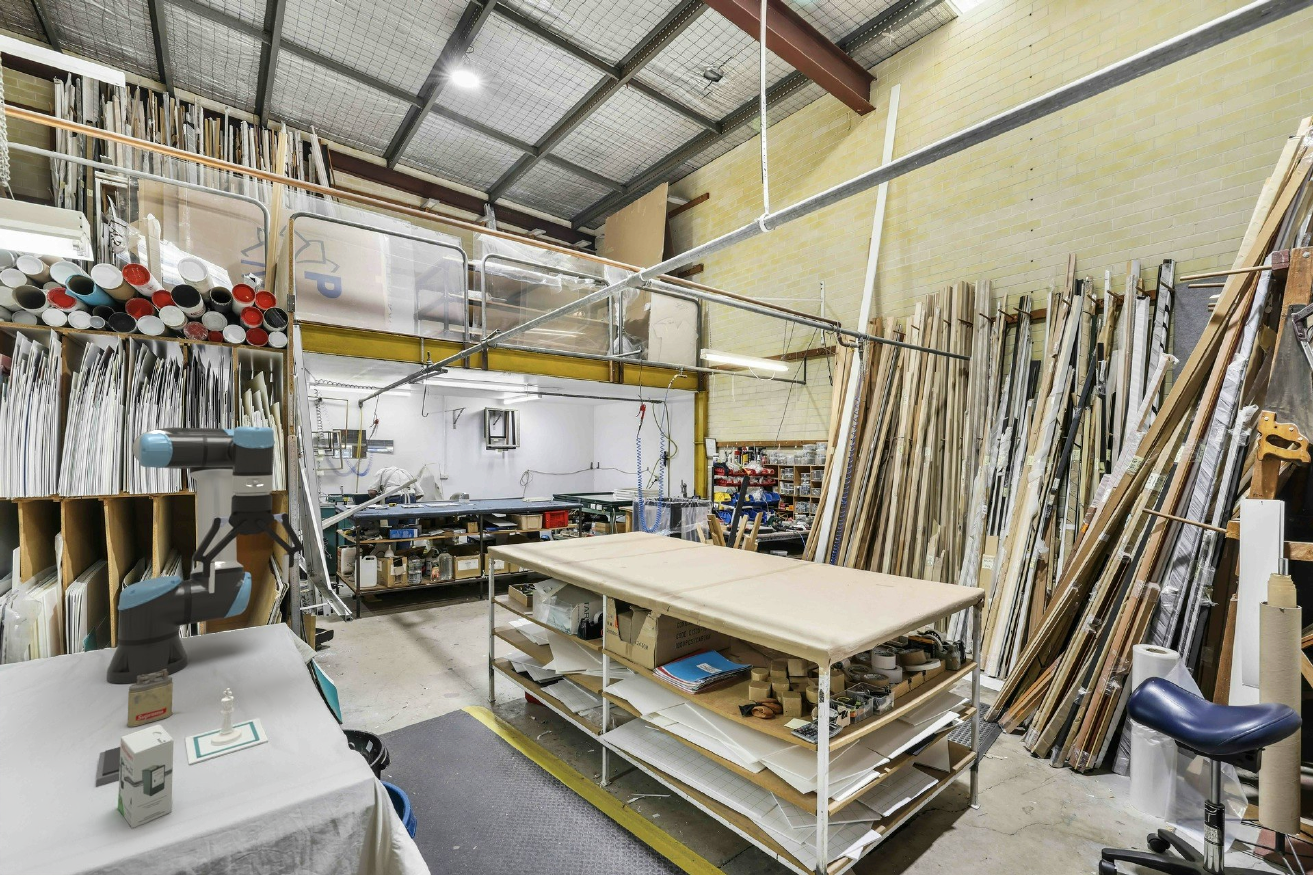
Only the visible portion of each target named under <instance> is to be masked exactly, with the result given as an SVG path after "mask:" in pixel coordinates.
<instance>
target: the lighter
mask: <svg viewBox="0 0 1313 875" xmlns="http://www.w3.org/2000/svg"><path fill="white" fill-rule="evenodd" d="M157 673H158V674H157ZM160 676H162V677H160ZM157 677H159V678H157ZM143 680H147V681H143ZM173 684H174V682H173V677H172V676H169V675H168V672H167V669H163V670H162V671H159V672H155V673H151V674H147V675H140V676H137V682H135V683H132V685H130V686H129V687H128V698H127V700H128V702H127V723H126V726H127V727H129V728H130V727H139V726H142V725H145V724H149V723H151V722H156V721H159V720H162V719H163V720H164V719H166V718H168V717H171V715H173V691H174V690H173V686H174V685H173Z"/></svg>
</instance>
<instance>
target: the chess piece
mask: <svg viewBox="0 0 1313 875" xmlns="http://www.w3.org/2000/svg"><path fill="white" fill-rule="evenodd" d="M223 695H225V697H223V698H222V699H221V700H220V701H221V704H222V707H223V709H221V711H220V714H222V715H223V720H222V727H221V728H222V730H221V731H220V732H219V733H217V734H216V735H214V736H213V737H212V739H211V744H212V745H216V746H218V745H225V744H229V743H232V742H234V741H236V740H238V739H239V738H240V737H241V736H242V732H241V730H239V729H234V728H232V725H233V724H232V718H231V713H232V712H234V711H235V708H234V707H231V706H232V705H233V703H234V699H235V697H234V696H231V695H233V691H231V687H229V688H225V691H223Z"/></svg>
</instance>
